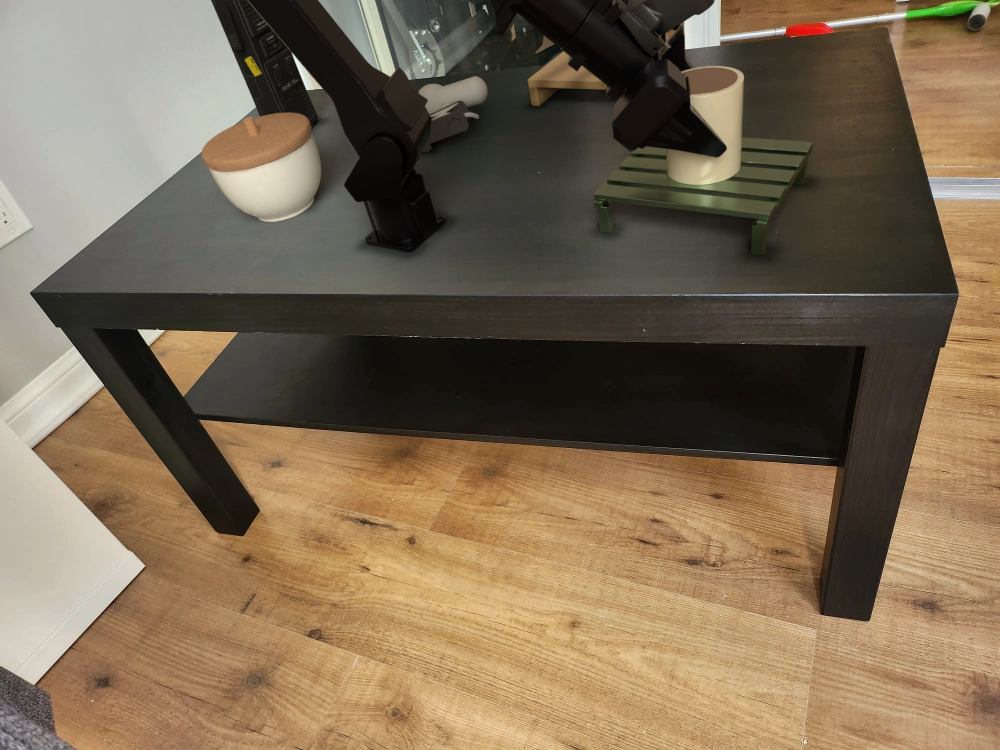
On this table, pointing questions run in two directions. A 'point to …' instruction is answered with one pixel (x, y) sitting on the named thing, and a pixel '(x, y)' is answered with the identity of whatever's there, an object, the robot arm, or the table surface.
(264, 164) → the lidded bowl
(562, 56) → the shelf
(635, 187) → the rack
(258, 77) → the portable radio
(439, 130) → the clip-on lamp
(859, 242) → the table surface
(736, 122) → the cup
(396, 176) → the robot arm
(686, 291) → the table surface
